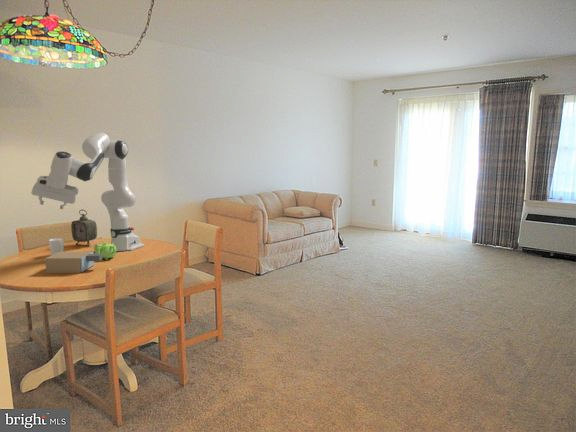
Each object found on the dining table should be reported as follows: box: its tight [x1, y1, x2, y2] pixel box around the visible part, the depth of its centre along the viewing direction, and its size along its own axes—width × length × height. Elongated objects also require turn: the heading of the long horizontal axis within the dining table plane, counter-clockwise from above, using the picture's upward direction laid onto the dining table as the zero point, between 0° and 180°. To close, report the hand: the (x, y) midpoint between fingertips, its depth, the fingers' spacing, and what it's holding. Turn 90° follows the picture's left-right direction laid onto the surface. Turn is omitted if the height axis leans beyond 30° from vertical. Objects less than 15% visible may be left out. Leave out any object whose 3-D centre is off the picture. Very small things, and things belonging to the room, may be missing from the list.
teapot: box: [93, 242, 118, 261], centre depth 245 cm, size 12×12×10 cm
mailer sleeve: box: [44, 251, 92, 274], centre depth 223 cm, size 18×14×8 cm
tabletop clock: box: [70, 209, 98, 247], centre depth 278 cm, size 14×9×25 cm, turn 68°
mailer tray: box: [80, 251, 103, 273], centre depth 223 cm, size 25×14×8 cm, turn 92°
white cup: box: [48, 237, 65, 256], centre depth 252 cm, size 8×8×10 cm
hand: (51, 206), depth 214 cm, fingers open, 8 cm apart
